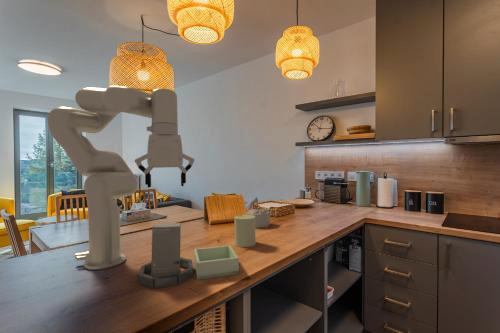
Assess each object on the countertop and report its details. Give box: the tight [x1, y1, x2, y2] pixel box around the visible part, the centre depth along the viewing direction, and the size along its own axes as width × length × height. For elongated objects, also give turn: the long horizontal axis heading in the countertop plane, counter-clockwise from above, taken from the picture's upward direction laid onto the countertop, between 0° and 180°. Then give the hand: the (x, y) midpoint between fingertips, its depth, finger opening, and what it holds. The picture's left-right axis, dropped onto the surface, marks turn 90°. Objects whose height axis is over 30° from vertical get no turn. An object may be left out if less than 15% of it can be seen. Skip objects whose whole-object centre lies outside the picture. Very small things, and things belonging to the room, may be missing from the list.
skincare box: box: [150, 222, 182, 277], centre depth 76 cm, size 8×7×16 cm
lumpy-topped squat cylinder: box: [245, 208, 271, 229], centre depth 137 cm, size 10×13×9 cm
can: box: [233, 214, 257, 248], centre depth 105 cm, size 9×9×12 cm
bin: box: [193, 244, 240, 281], centre depth 80 cm, size 13×13×5 cm
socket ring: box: [137, 256, 194, 289], centre depth 76 cm, size 15×15×2 cm
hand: (166, 186), depth 76 cm, fingers open, 9 cm apart
